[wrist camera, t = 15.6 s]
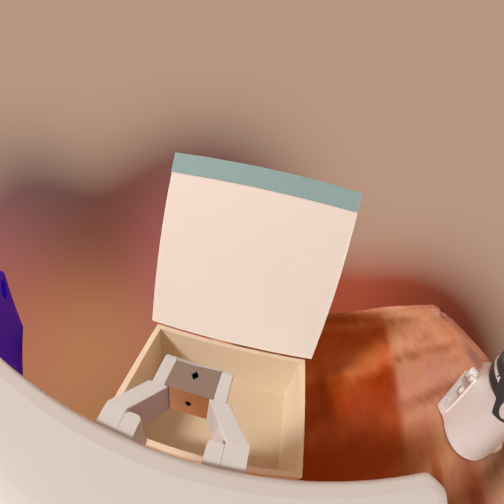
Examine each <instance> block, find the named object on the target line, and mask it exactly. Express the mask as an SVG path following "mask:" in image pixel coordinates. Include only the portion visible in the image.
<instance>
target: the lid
mask: <svg viewBox="0 0 504 504" xmlns="http://www.w3.org/2000/svg"><path fill="white" fill-rule="evenodd" d="M361 198H362V193H360V192H357V191H353V190H350V189H346V188H343V187H339V186H336V185H332V184H329V183H325V182H321V181H317V180H313V179H309V178H306V177H301V176H297V175H293V174H289V173H284V172H280V171H276V170H271V169H267V168H262V167H257V166H252V165H247V164H242V163H237V162H231V161H226V160H220V159H215V158H209V157H202V156H195V155H189V154H182V153H175V157H174V162H173V167H172V174H171V179H170V185H169V190H168V196H167V201H166V207H165V214H164V220H163V226H162V233H161V241H160V247H159V255H158V264H157V272H156V282H155V293H154V305H153V319H152V320H153V321H156V322H159V323H162V324H166V325H169V326H172V327H175V328H179V329H182V330H186V331H189V332H192V333H196V334H200V335H203V336H207V337H211V338H214V339H218V340H222V341H226V342H230V343H234V344H239V345H243V346H247V347H252V348H256V349H261V350H265V351H270V352H275V353H280V354H285V355H291V356H296V357H302V358H308V359H312V356H313V354H314V351H315V348H316V346H317V343H318V340H319V338H320V335H321V332H322V329H323V327H324V324H325V321H326V318H327V315H328V312H329V309H330V306H331V303H332V300H333V297H334V294H335V291H336V288H337V285H338V282H339V278H340V275H341V272H342V268H343V265H344V262H345V258H346V255H347V251H348V247H349V244H350V240H351V236H352V232H353V229H354V224H355V221H356V217H357V213H358V211H359V207H360V202H361Z"/></svg>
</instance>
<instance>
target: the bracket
mask: <svg viewBox="0 0 504 504" xmlns="http://www.w3.org/2000/svg"><path fill="white" fill-rule="evenodd" d="M22 339H23V326H22V323H21V321H20V318H19V315H18V313H17V310H16V307H15V305H14V302H13V299H12V296H11V293H10V290H9V287H8V284H7V280H6V277H5V274H4V272H3V271H0V358H2V359H3V360H4V361H5V362H6V363H7V364H9V365H10V366H11V367H12V368H13V369H15V370H16V371H17V372H18V373H19V374H21V375H22V376H23V368H22Z"/></svg>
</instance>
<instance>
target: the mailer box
mask: <svg viewBox="0 0 504 504" xmlns="http://www.w3.org/2000/svg"><path fill="white" fill-rule="evenodd" d="M167 354H169V355H172V356H175V357H178V358H181V359H184V360H187V361H190V362H193V363H196V364H199V365H200V364H201V365H205V366H209V367H212V368H216V369H220V370H222V371H227V372H231V373H234V377H233V381H232V385H231V389H230V392H229V396H228V400H227V404H230V406H231V408H232V410H233V412H234V415H235V417H236V419H237V421H238V423H239V425H240V428H241V430H242V432H243V434H244V436H245V438H246V440H247V442H248V444H249V446H250V449H249V455H248V460H247V466H246V471H245V474H249V475H255V476H262V477H269V478H278V479H288V480H300V479H301V478H302V471H303V452H304V425H305V360H303V359H297V358H292V357H286V356H281V355H276V354H271V353H266V352H261V351H257V350H252V349H248V348H243V347H239V346H235V345H231V344H227V343H223V342H219V341H215V340H211V339H207V338H204V337H200V336H196V335H192V334H189V333H186V332H182V331H179V330H175V329H172V328H169V327H166V326H163V325H159V324H158V325H157V326H156V328H155V330H154V331H153V333H152V335H151V336H150V338H149V339H148V341H147V343H146V345H145V346H144V348H143V349H142V351H141V353H140V355H139V356H138V358H137V359H136V361H135V363H134V364H133V366H132V368H131V370H130V372H129V373H128V375H127V377H126V378H125V380H124V382H123V383H122V385H121V387H120V389H119V390H118V392H117V394H116V396H118V395H120V394H122V393H124V392H126V391H128V390H130V389H132V388H134V387H136V386H138V385H140V384H142V383H144V382H146V381H148V380H151V381H153V379H154V377H155V375H156V373H157V371H158V369H159V367H160V365H161V363H162V361H163V360H164V358H165V356H166V355H167ZM116 396H115V397H116ZM143 428H144V431H145V435H146V438H147V442H146V445H145V446H147V447H150V448H153V449H155V450H158V451H161V452H164V453H166V454H169V455H172V456H175V457H178V458H182V459H185V460H188V461H192V462H195V463H199V464H201V462H202V458H203V455H204V452H205V449H206V445H207V442H208V441H209V440H211V439H212V436H211V433H210V430H209V427H208V424H207V421H206V419H204V418H201V417H197V416H194V415H191V414H188V413H185V412H181V411H178V410H175V409H171V408H169V410H167V411H166V412H164V413H163V414H161V415H160V416H158V417H157V418H156V419H154V420H153V421H151V422H150V423H148V424H147V425H145V426H144V427H143ZM212 440H213V439H212Z"/></svg>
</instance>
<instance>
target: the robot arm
mask: <svg viewBox="0 0 504 504" xmlns="http://www.w3.org/2000/svg"><path fill="white" fill-rule="evenodd" d="M233 377H234V373H231V372H227V371H222V370H220V369H216V368H212V367H209V366H205V365H201V364H200V365H199V364H196V363H193V362H190V361H187V360H184V359H181V358H178V357H175V356H172V355H169V354H167V355H166V356H165V358H164V360H163V361H162V363H161V365H160V367H159V369H158V371H157V373H156V375H155V377H154V379H153V381H151V380H148V381H146V382H144V383H142V384H140V385H138V386H136V387H134V388H132V389H130V390H128V391H126V392H124V393H122V394H120V395H118V396H116V397H114V398H112V399H110V400H108V401H107V403H106V404H105V406H104V408H103V409H102V411H101V413H100V415H99V416H98V418H97V420H96V421H95V422H93V421H91V420H89V419H87V418H85V417H84V416H81V415H80V414H78V413H77V412H75V411H73V410H72V409H70V408H68V407H66V406H65V405H63V404H62V403H60V402H58V401H57V400H55V399H54V398H52V397H51V396H49V395H48V394H46V393H45V392H44V391H42V390H41V389H39V388H38V387H37V386H35V385H34V384H32V383H31V382H30V381H28V380H27V379H26V378H24V377H23V376H22V375H21V374H19V373H18V372H17V371H16V370H15V369H13V368H12V367H11V366H10V365H9V364H7V363H6V362H5V361H4V360H3V359H2V358H0V504H448V501H447V494H446V491H445V488H444V487H443V486H442V485H441V484H440V483H439V482H438V481H437V480H436V479H435V478H434V477H433V476H432V475H431V474H429V473H426V472H424V473H417V474H412V475H406V476H399V477H392V478H384V479H374V480H361V481H301V480H288V479H278V478H269V477H262V476H255V475H249V474H245V471H246V466H247V460H248V455H249V449H250V446H249V444H248V442H247V440H246V438H245V436H244V434H243V432H242V430H241V428H240V425H239V423H238V421H237V419H236V417H235V415H234V412H233V410H232V408H231V406H230V404H227V400H228V396H229V392H230V389H231V385H232V381H233ZM169 408H171V409H175V410H178V411H181V412H185V413H188V414H191V415H194V416H197V417H201V418H204V419H206V421H207V424H208V427H209V430H210V433H211V436H212V439H213V440H212V439H211V440H209V441H208V442H207V445H206V449H205V452H204V455H203V458H202V462H201V464H199V463H195V462H192V461H188V460H185V459H182V458H178V457H175V456H172V455H169V454H166V453H164V452H161V451H158V450H155V449H153V448H150V447H147V446H145V445H146V442H147V438H146V435H145V431H144V428H143V427H144V426H145V425H147V424H148V423H150V422H151V421H153V420H154V419H156V418H157V417H158V416H160V415H161V414H163V413H164V412H166V411H167V410H169ZM438 409H439V411H440V413H441V415H442V417H443V420H444V428H445V432H446V435H447V438H448V440H449V442H450V444H451V446H452V447H453V448H454V450H455V451H456V452H457V453H458V454H459V455H461V456H462V457H464V458H466V459H468V460H473V461H476V460H481V459H483V458H484V457H486V456H487V455H489V454H491V453H497V452H498V451H499V450H500V449H501V448H502V443H503V442H504V351H503V352H502V353H501V354H500V355H499V356H498V357H497V358H496V359H495V361H493V362H484V363H482V365H481V366H480V367H479V368H478V369H477V370H476V369H475V368H474V367H473V366H472V367H471V368H470V370H469V371H468V370H465V371H464V372H463V373H462V374H461V376H460V377H459V378H458V380H457V381H456V382H455V383H454V384H453V386H452V387H451V388H450V389H449V390H448V392H447V393H446V394H445V395H444V396H443V397H442V399H441V400H440V401H439V402H438Z"/></svg>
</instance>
